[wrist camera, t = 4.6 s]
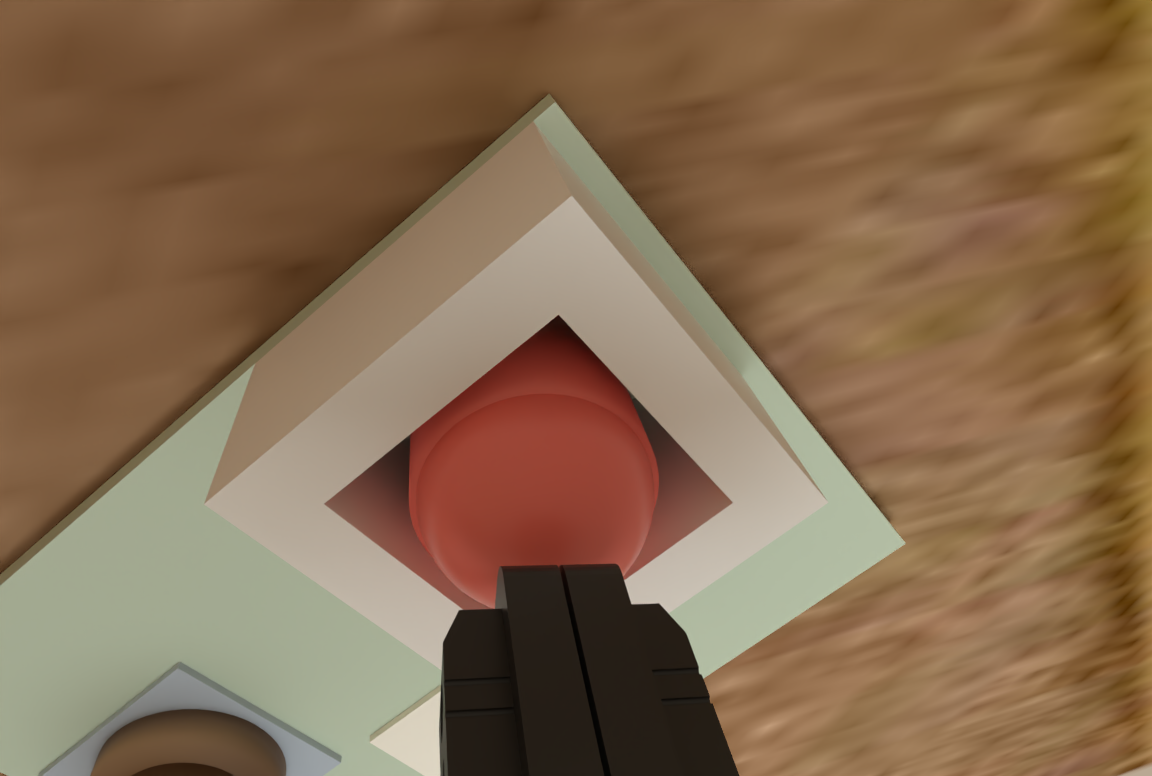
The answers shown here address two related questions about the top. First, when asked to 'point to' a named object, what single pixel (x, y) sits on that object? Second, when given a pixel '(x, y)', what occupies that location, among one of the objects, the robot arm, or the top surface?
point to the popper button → (533, 468)
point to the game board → (311, 613)
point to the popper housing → (463, 355)
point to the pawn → (190, 747)
